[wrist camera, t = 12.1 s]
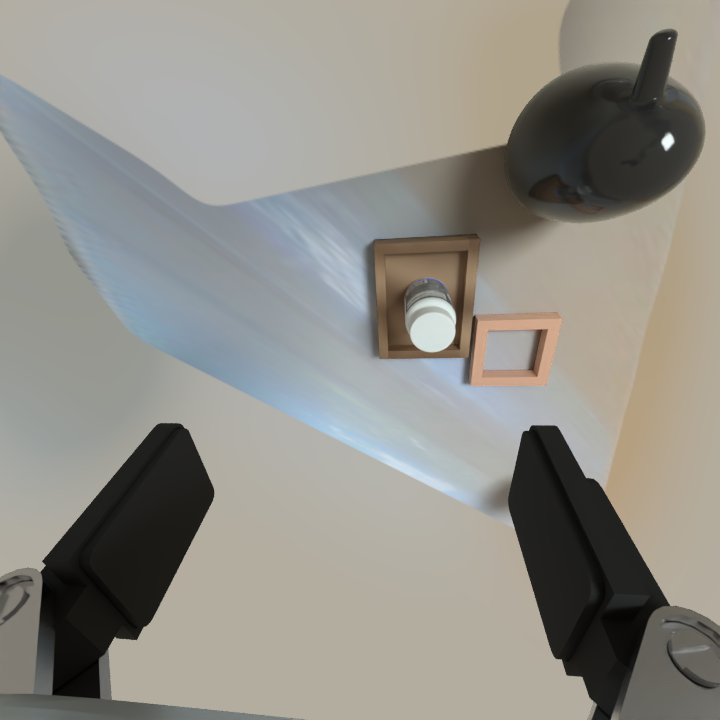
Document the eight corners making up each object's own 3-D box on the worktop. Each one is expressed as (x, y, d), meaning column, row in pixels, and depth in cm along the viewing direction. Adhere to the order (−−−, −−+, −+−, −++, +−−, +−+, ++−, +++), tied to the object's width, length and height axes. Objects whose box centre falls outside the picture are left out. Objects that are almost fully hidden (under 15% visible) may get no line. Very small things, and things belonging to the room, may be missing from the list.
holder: (475, 314, 40) (477, 320, 38) (557, 312, 39) (562, 318, 37) (468, 378, 44) (470, 385, 43) (541, 378, 43) (546, 385, 42)
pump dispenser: (626, 47, 27) (830, -32, 14) (618, 191, 32) (763, 228, 19) (487, 97, 30) (556, 67, 17) (500, 224, 35) (560, 276, 22)
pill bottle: (444, 319, 40) (454, 358, 33) (402, 315, 40) (402, 354, 33) (452, 277, 37) (465, 310, 30) (406, 274, 37) (408, 306, 30)
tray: (374, 239, 36) (373, 244, 35) (476, 234, 35) (480, 239, 34) (380, 350, 43) (379, 358, 41) (465, 348, 42) (468, 357, 40)
